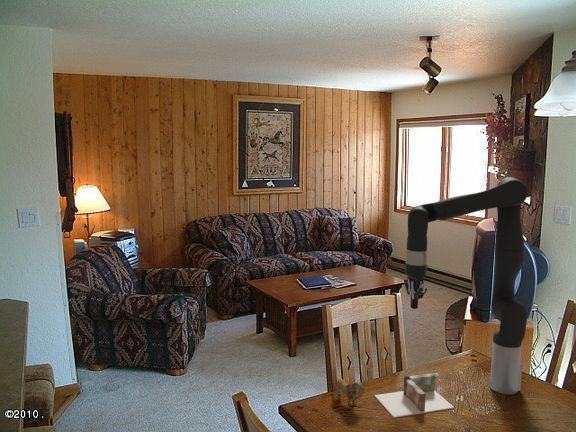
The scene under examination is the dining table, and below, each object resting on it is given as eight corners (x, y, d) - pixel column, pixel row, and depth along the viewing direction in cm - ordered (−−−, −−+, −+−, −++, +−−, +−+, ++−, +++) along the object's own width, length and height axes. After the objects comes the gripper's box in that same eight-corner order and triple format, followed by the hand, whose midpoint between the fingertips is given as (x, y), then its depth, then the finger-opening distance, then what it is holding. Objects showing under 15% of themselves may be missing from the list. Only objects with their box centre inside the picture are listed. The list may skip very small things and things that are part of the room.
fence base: (431, 388, 176) (432, 371, 175) (434, 391, 174) (435, 374, 173) (402, 392, 173) (403, 375, 172) (405, 395, 171) (405, 378, 170)
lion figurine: (367, 408, 164) (368, 382, 162) (356, 413, 160) (357, 387, 159) (335, 390, 175) (336, 366, 173) (325, 395, 171) (325, 371, 170)
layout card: (430, 388, 177) (431, 386, 177) (454, 408, 164) (454, 406, 164) (374, 396, 171) (374, 394, 171) (393, 417, 158) (393, 416, 158)
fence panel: (405, 394, 171) (406, 379, 170) (410, 394, 171) (411, 379, 170) (419, 410, 161) (420, 394, 160) (424, 409, 161) (425, 393, 161)
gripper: (435, 265, 173) (433, 313, 175) (416, 257, 185) (413, 301, 188) (416, 267, 171) (414, 315, 173) (397, 258, 183) (396, 303, 186)
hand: (413, 308), depth 181 cm, fingers closed
